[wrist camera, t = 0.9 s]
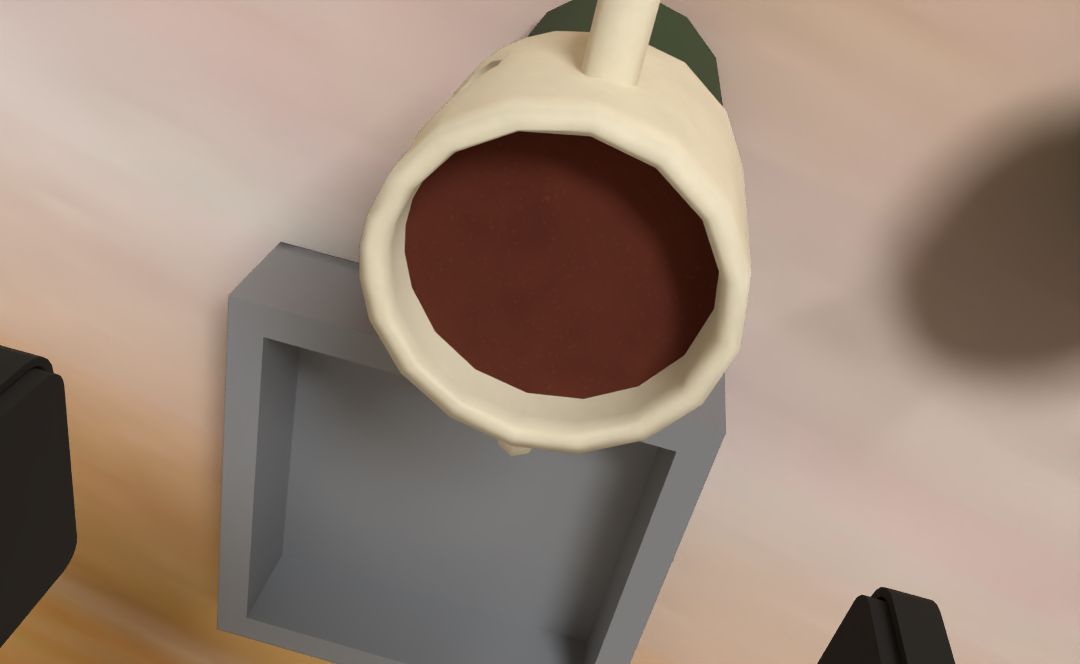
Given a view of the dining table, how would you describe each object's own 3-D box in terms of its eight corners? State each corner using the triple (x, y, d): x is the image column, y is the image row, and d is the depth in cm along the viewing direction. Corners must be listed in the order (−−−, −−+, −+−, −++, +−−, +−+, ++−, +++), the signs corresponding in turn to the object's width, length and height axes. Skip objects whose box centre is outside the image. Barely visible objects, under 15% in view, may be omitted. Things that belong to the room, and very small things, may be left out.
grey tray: (724, 363, 31) (725, 432, 28) (608, 658, 40) (598, 738, 36) (280, 241, 32) (228, 295, 28) (259, 558, 40) (216, 629, 37)
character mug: (538, -133, 24) (393, -76, 13) (795, -67, 24) (863, 47, 13) (470, 225, 30) (329, 472, 19) (677, 281, 30) (656, 563, 19)
